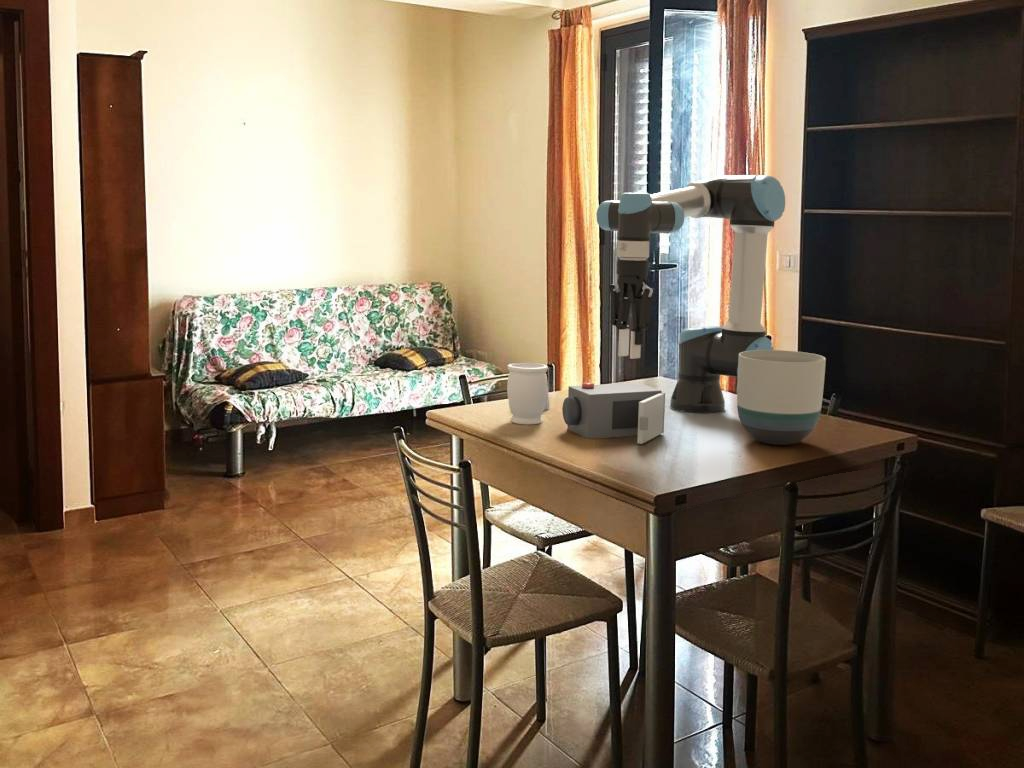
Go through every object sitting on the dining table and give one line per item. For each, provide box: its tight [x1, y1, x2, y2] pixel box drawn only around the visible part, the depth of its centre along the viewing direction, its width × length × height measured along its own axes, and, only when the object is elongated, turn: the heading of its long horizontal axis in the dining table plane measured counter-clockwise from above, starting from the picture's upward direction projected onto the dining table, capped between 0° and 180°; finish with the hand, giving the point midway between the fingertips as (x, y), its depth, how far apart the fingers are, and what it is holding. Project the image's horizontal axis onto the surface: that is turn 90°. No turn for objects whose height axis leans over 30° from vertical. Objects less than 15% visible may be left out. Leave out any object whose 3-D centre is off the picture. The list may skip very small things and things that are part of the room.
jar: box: [506, 362, 549, 426], centre depth 279 cm, size 11×10×15 cm
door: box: [636, 392, 666, 445], centre depth 261 cm, size 16×2×10 cm, turn 152°
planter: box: [736, 349, 827, 446], centre depth 260 cm, size 20×20×21 cm
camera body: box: [561, 382, 663, 440], centre depth 270 cm, size 22×12×12 cm, turn 112°
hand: (629, 356), depth 258 cm, fingers open, 3 cm apart
